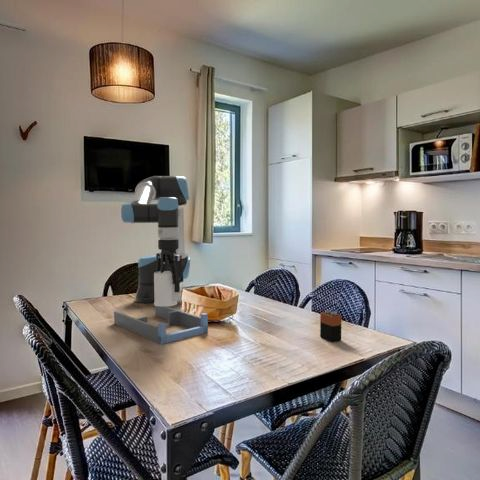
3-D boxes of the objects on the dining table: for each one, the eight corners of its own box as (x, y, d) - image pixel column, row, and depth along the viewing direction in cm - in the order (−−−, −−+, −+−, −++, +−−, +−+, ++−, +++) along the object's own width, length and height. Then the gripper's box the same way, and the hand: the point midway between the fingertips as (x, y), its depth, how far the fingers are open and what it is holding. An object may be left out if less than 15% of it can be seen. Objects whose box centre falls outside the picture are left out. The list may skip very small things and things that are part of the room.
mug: (178, 299, 155) (178, 269, 154) (188, 303, 148) (188, 271, 147) (150, 303, 148) (149, 272, 147) (159, 307, 141) (159, 274, 140)
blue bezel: (205, 331, 150) (204, 312, 149) (207, 332, 148) (207, 313, 148) (158, 343, 136) (157, 323, 135) (161, 344, 135) (160, 324, 134)
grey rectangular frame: (157, 314, 175) (157, 303, 174) (205, 331, 150) (204, 318, 149) (114, 323, 161) (114, 311, 160) (158, 343, 136) (158, 328, 136)
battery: (332, 342, 136) (332, 314, 135) (319, 337, 142) (319, 309, 141) (341, 340, 138) (342, 312, 137) (329, 335, 144) (329, 308, 143)
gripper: (145, 238, 152) (146, 296, 153) (175, 240, 137) (176, 305, 138) (162, 237, 157) (163, 293, 158) (193, 239, 142) (193, 301, 143)
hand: (169, 298), depth 148 cm, fingers closed on mug, 8 cm apart
